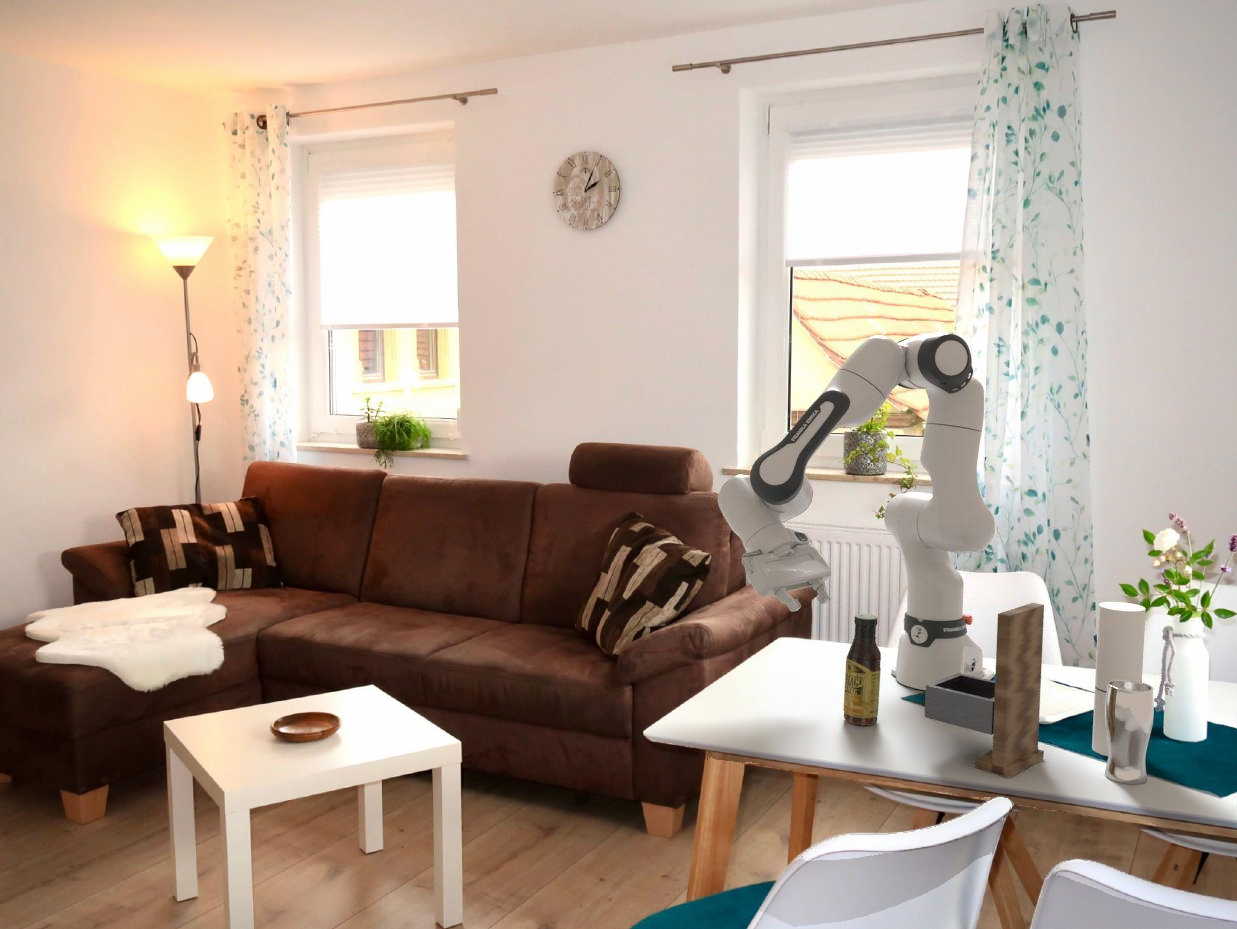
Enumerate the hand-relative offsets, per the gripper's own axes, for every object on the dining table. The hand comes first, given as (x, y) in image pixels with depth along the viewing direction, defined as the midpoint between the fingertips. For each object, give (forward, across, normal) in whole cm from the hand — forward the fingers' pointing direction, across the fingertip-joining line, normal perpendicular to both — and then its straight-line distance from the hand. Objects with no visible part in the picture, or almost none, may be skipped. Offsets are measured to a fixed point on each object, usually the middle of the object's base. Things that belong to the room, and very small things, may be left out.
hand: (812, 605), depth 204 cm
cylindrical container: (+49, +19, -21) cm, 57 cm away
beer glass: (+53, +8, -25) cm, 60 cm away
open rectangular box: (+34, 0, -14) cm, 36 cm away
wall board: (+42, 0, -14) cm, 45 cm away
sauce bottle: (+22, 0, +6) cm, 23 cm away
